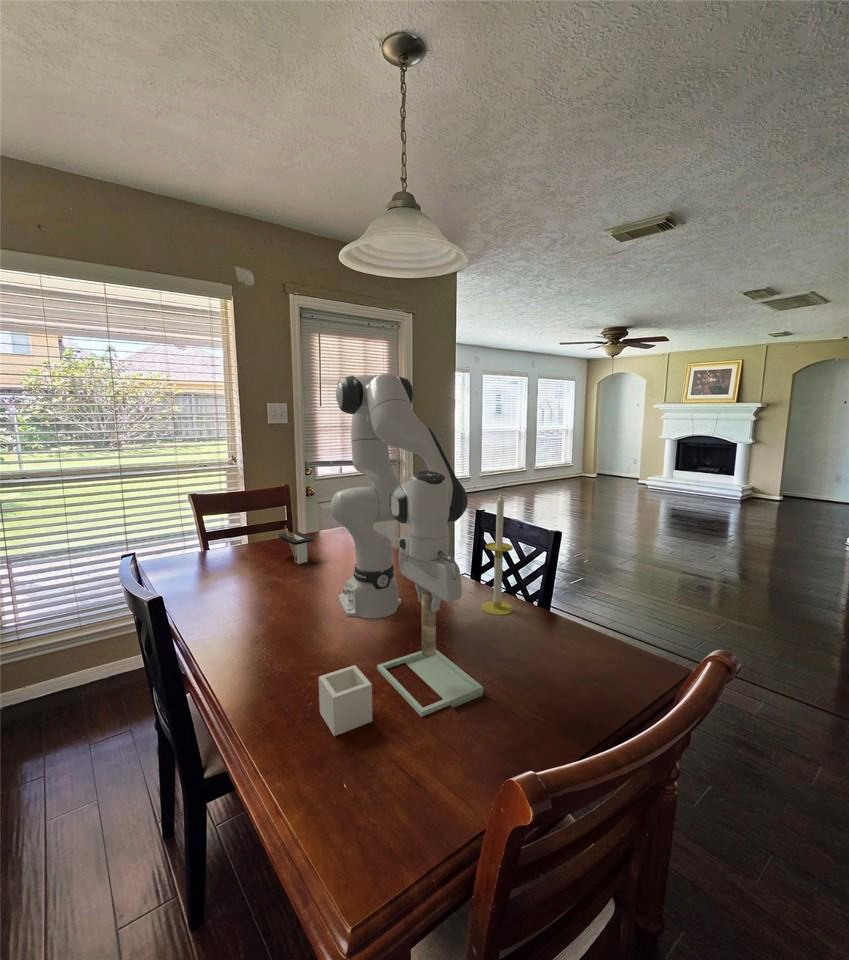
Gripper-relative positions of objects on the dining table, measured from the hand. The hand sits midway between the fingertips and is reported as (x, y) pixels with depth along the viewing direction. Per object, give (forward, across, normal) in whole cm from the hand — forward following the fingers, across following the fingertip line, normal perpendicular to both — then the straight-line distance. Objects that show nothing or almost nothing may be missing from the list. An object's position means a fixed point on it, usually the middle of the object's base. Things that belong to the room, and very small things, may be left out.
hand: (428, 606), depth 102 cm
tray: (+19, 0, 0) cm, 19 cm away
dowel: (+11, 0, 0) cm, 11 cm away
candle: (+19, +22, -40) cm, 50 cm away
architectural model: (+19, +102, 0) cm, 103 cm away
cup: (+19, -2, +21) cm, 28 cm away
